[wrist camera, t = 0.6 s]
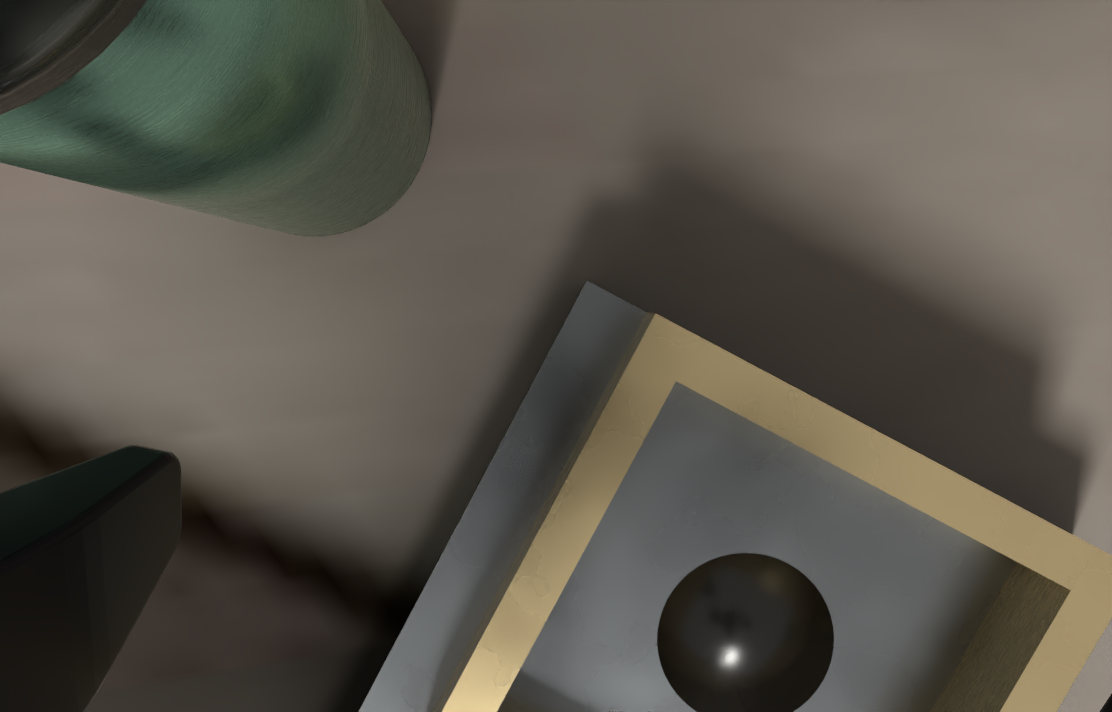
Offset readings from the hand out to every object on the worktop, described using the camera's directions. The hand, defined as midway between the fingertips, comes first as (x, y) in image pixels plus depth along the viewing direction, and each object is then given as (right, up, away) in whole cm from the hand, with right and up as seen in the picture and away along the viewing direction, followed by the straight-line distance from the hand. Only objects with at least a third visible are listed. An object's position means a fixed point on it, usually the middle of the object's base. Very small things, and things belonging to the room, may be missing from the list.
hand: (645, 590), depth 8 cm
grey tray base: (+2, -6, +14) cm, 16 cm away
